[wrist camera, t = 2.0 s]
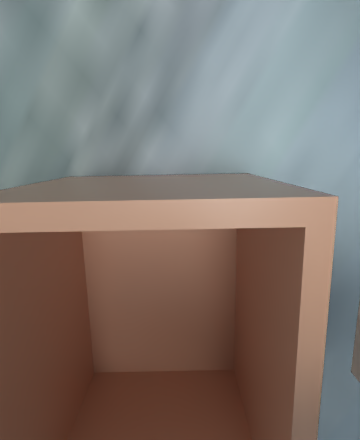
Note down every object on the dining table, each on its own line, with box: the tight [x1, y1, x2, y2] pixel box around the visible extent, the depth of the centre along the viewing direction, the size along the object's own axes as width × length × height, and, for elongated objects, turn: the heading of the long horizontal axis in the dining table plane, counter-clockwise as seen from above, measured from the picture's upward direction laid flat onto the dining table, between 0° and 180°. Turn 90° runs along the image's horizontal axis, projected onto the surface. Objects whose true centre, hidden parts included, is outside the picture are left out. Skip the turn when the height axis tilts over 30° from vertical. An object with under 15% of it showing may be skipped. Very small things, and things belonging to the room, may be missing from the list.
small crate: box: [0, 173, 338, 440], centre depth 11 cm, size 10×8×8 cm
